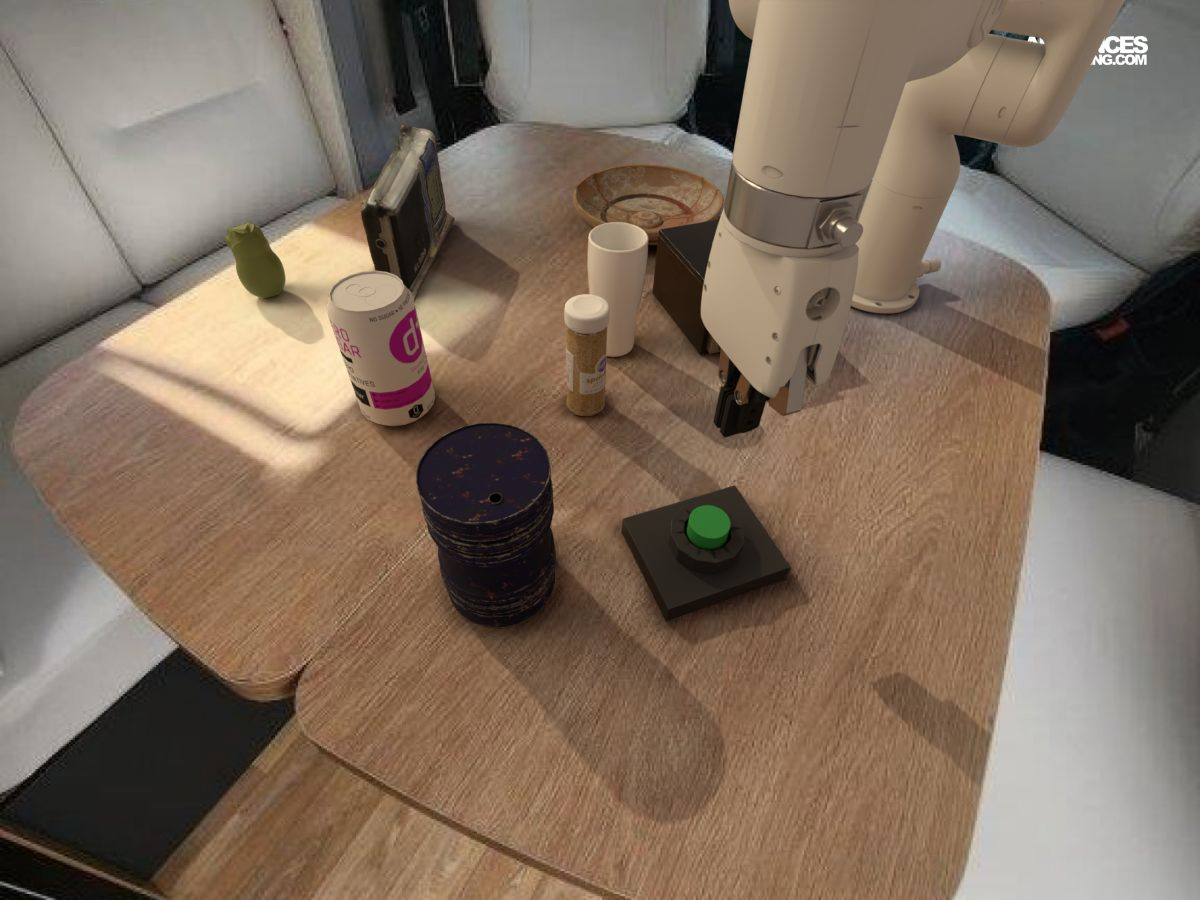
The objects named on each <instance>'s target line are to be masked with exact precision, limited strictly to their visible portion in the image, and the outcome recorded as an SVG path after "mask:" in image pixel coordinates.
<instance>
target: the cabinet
mask: <svg viewBox="0 0 1200 900" xmlns="http://www.w3.org/2000/svg"><path fill="white" fill-rule="evenodd" d="M719 220H720V218H718V219H717V220H712V221H706V222H700V223H694V224H688V225H683V226H677V227H671V228H665V229H659V235H658V243H657V245H656V254H655V263H654V271H653V273H654V274H653V284H652V295H653V296H654V298H655V299H656V300H657V301H658V303H659V304H660V305H661V307H663V309H664V310H665V311H666V314H668V316H669V317H670V318H671V319H672V321H673V322H674V323H675V324H676V326H677V327H678V328H679V330H680V331H681V332H682V333H683V335H684V336H685V338H687V340H688V341H689V342H690V344H691V345H692V347H693V348H694V349H695V350H696V352H697V353H698V354H699V355H700V356H701V355H706V354H710V353H709V352H708V351H707V350H706V343H707V338H708V333H709V332H708V330H707V329H706V327H705V325H704V323H703V321H702V318H701V301H702V292H703V285H704V280H705V274H706V269H707V265H708V261H709V256H710V252H711V248H712V244H713V240H714V237H715V233H716V230H717V227H718V223H719Z"/></svg>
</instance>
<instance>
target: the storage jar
mask: <svg viewBox="0 0 1200 900" xmlns="http://www.w3.org/2000/svg"><path fill="white" fill-rule="evenodd" d="M551 468H552V467H551V459H550V456H549V454H548V451H547V449H546V448H545V446H544V444H543V443H542V442H541V441H540V440H539V439H538V438H537V437H536V436H535V435H533V434H531V433H530V432H529V431H527V430H525V429H523V428H521V427H518V426H515V425H512V424H508V423H503V422H487V421H486V422H476V423H472V424H467V425H464V426H461V427H457V428H456V429H455V428H454V429H453V430H450V431H449V432H447V433H444V435H442V436H440V437H438V438H437V439H436V440H435V441H433V442H432V444H430V445H429V446H428V447H427V448H426V450H425V451H424V453H423V454H422V456H421V457H420V459H419V461H418V464H417V468H416V471H415V483H416V484H415V485H416V489H417V492H418V496H419V499H420V504H421V510H422V514H423V518H424V521H425V523H426V528H427V531H428V534H429V536H430V538H432V541H433V542H434V544H435V545H436V546H437V559H438V563H439V569H440V575H441V579H442V582H443V584H444V587H445V589H446V591H447V594H448V597H449V600H450V601H451V604H452V607H454V609H455V611H456V612H457V613H458V614H459V615H460V616H461V617H462V618H464V619H465V620H466V621H468V622H469V623H472V624H474V625H477V626H479V627H484V628H490V629H504V628H509V627H510V628H511V627H514V626H518V625H521V624H523V623H525V622H527V621H528V620H530V619H532V618H534V617H535V616H536V615H537V614H538V613H540V612H541V611H542V610H543V609H544V607H545V606H546V605H547V604H548V602H549V600H550V599H551V597H552V595H553V593H554V590H555V586H556V579H557V578H556V576H557V573H556V568H557V551H556V544H555V538H554V537H555V536H554V533H553V530H552V528H551V526H552V521H553V517H554V510H555V504H554V487H553V480H552V469H551Z"/></svg>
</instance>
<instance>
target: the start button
mask: <svg viewBox="0 0 1200 900" xmlns="http://www.w3.org/2000/svg"><path fill="white" fill-rule="evenodd" d="M730 525H731V524H730V519H729V517H728V515H727V514H726V513H725V512H724V511H723V510H721V509H720V508H718V507H715V506H710V505H704V506H700V507H697V508H696V509H694V510H693V511H692V512H691V514H690V517H689V521H688V526H687V535H688V538H689V539H690V541H691V542H692V543H693V544H694V545H696V546H697V547H699V548H702V549H706V550H713V549H717V548H719V547H721V546H722V545H723V544H724V543H725V542H726V540H727V536H728V533H729V530H730Z"/></svg>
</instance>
